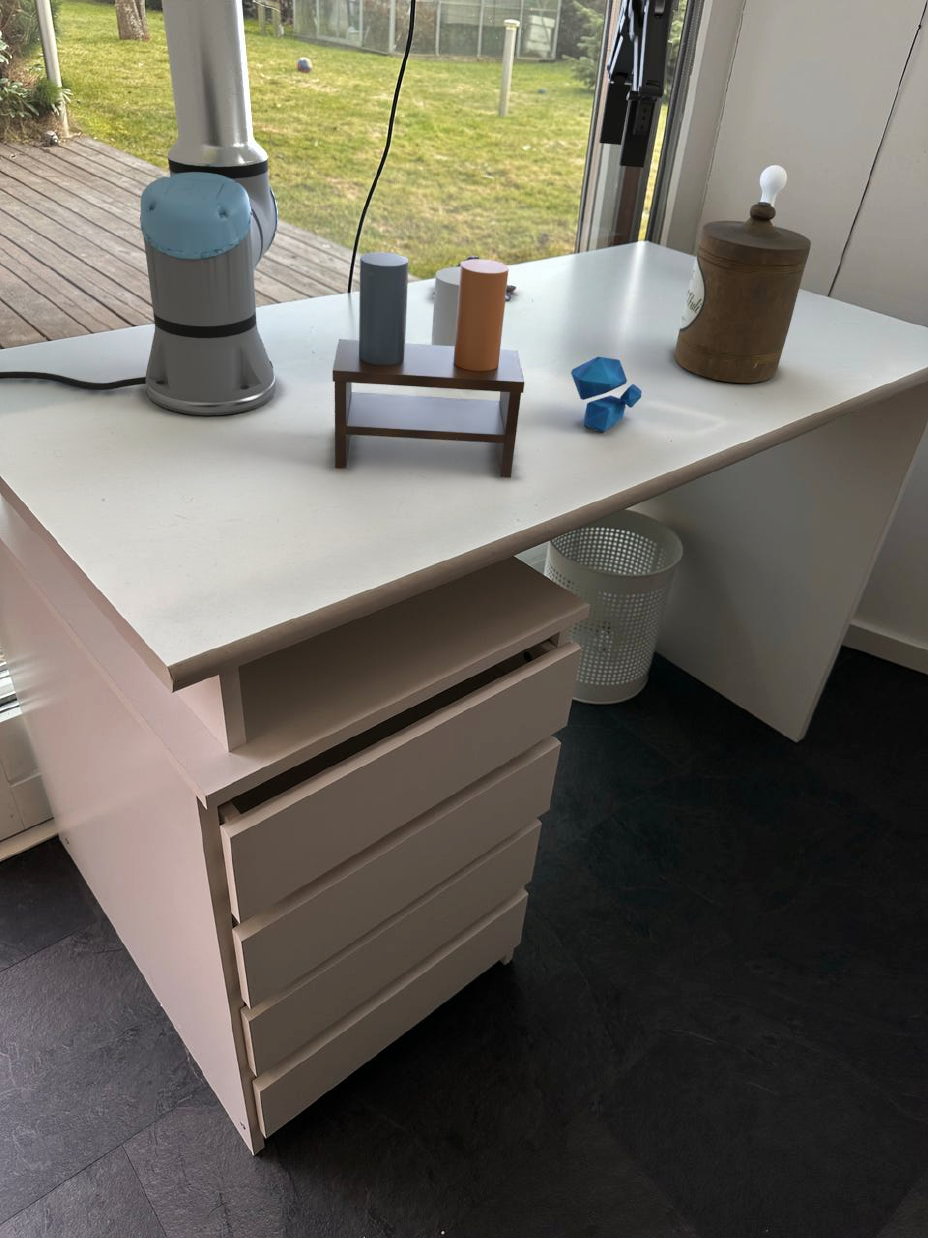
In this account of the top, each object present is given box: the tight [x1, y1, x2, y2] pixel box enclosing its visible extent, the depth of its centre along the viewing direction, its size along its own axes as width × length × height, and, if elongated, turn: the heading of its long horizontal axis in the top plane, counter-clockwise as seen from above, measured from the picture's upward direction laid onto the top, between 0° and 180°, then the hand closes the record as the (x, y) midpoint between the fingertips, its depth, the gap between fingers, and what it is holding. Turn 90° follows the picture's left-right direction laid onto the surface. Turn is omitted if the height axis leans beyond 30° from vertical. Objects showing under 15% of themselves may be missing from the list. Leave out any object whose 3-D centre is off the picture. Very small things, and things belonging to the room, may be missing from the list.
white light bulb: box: [759, 164, 788, 208], centre depth 161 cm, size 11×8×20 cm
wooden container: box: [673, 201, 812, 384], centre depth 128 cm, size 15×15×22 cm
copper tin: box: [454, 258, 509, 371], centre depth 94 cm, size 5×5×10 cm
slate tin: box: [358, 251, 409, 365], centre depth 94 cm, size 5×5×10 cm
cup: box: [430, 266, 460, 346], centre depth 122 cm, size 8×8×12 cm
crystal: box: [570, 356, 642, 433], centre depth 112 cm, size 7×9×12 cm
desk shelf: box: [332, 338, 525, 478], centre depth 100 cm, size 20×9×11 cm, turn 92°
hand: (620, 154), depth 110 cm, fingers open, 13 cm apart
